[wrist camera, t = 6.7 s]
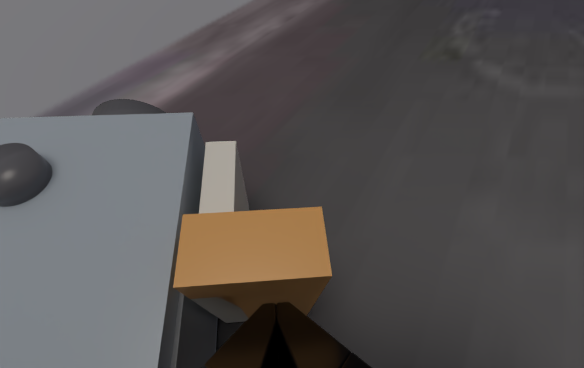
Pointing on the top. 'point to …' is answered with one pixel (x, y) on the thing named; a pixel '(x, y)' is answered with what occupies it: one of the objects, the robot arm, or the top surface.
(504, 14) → the top surface
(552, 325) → the top surface
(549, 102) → the top surface
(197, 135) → the grey knobbed box
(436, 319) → the top surface
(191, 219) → the side door
